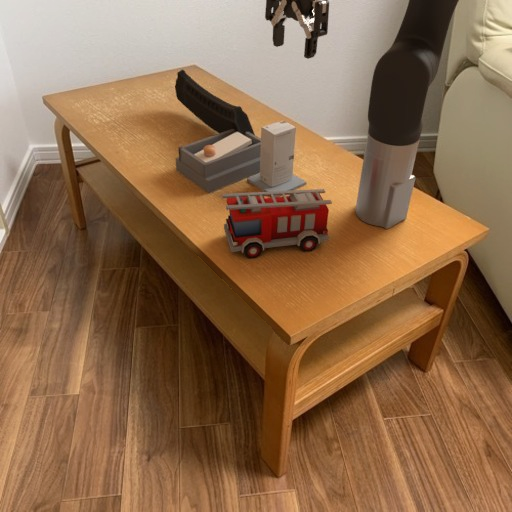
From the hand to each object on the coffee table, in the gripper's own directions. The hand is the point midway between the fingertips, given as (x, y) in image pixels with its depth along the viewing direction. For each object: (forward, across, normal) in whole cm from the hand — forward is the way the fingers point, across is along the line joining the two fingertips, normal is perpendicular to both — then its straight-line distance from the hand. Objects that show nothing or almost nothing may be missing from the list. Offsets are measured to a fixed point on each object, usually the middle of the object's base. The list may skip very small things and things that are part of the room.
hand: (293, 51), depth 107 cm
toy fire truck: (+26, -18, +20) cm, 37 cm away
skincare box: (+26, -2, +5) cm, 26 cm away
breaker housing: (+26, +9, +11) cm, 30 cm away
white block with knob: (+21, +9, +11) cm, 25 cm away
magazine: (+25, +24, 0) cm, 35 cm away
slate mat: (+26, -3, +5) cm, 27 cm away
